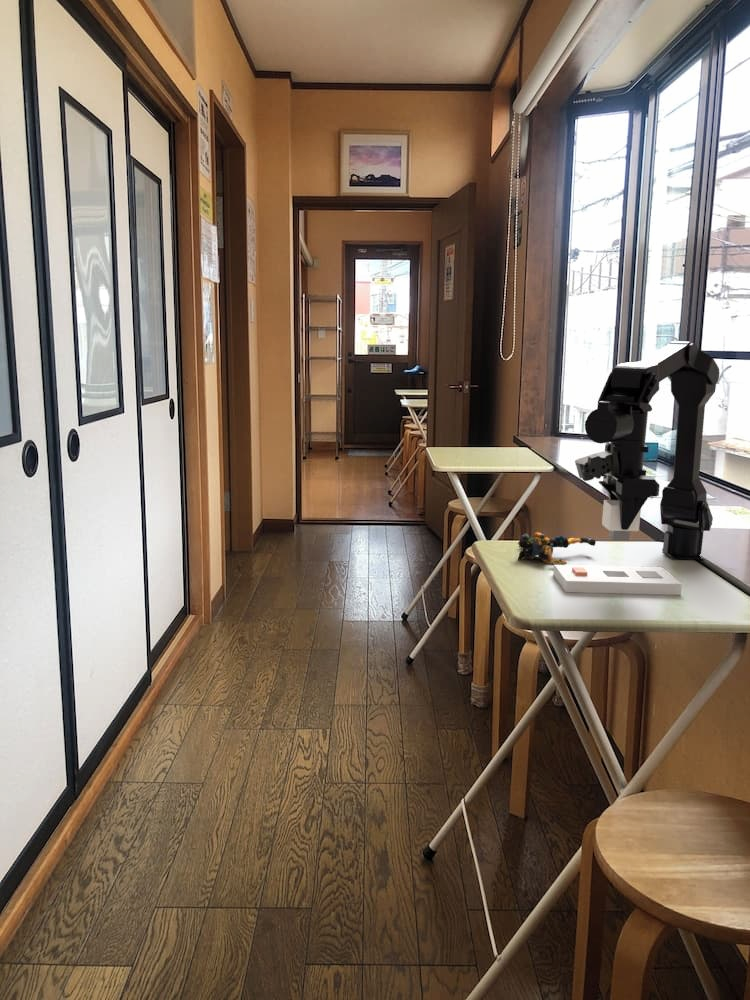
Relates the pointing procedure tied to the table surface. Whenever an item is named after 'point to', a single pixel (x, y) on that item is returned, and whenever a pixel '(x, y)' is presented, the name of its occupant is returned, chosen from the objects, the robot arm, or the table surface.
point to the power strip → (616, 579)
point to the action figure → (547, 546)
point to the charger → (617, 521)
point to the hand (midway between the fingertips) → (620, 526)
